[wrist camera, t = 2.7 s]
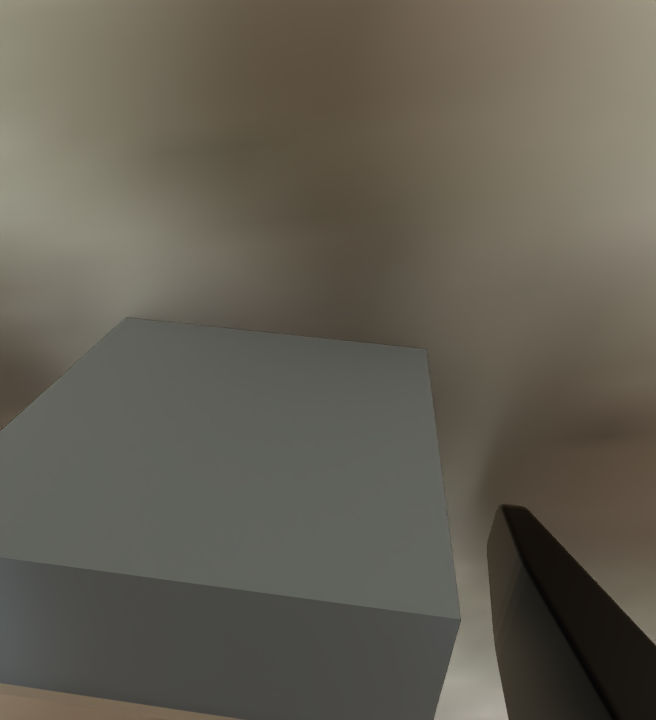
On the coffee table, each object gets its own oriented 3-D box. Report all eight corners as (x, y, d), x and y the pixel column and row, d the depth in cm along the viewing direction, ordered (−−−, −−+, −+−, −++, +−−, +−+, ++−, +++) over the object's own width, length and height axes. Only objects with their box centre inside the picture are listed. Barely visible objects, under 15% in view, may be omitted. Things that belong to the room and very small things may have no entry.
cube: (426, 346, 9) (463, 630, 4) (389, 562, 11) (388, 893, 7) (128, 315, 9) (-133, 549, 5) (154, 532, 11) (-1, 827, 7)
